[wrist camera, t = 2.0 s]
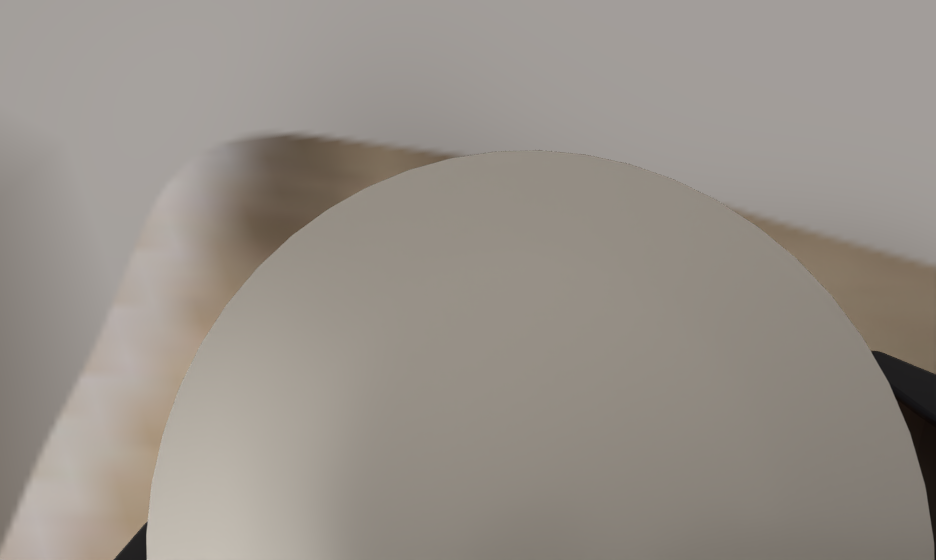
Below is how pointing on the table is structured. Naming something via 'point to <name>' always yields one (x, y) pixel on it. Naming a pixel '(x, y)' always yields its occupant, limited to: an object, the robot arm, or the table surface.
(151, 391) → the table surface
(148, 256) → the table surface
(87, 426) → the table surface
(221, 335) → the pebble jar
